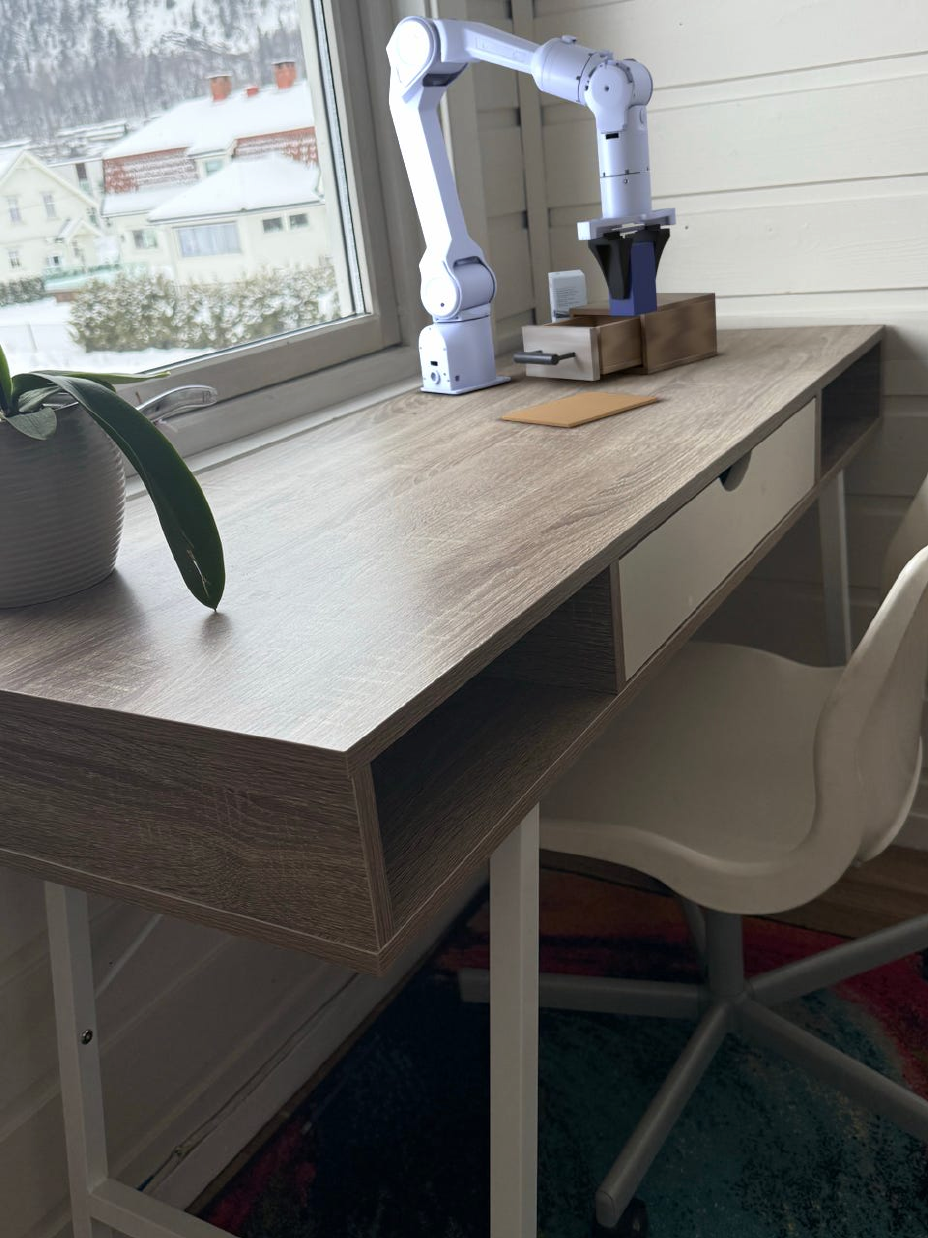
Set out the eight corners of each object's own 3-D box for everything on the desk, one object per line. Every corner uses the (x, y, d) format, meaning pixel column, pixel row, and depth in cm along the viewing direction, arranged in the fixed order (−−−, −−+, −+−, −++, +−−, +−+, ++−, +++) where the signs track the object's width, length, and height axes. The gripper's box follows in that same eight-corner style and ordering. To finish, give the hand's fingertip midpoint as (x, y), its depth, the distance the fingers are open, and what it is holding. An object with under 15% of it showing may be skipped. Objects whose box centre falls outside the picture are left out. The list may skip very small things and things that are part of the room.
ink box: (592, 358, 162) (585, 272, 158) (557, 362, 162) (550, 277, 158) (587, 350, 170) (581, 268, 166) (554, 354, 170) (547, 272, 166)
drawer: (568, 387, 138) (564, 334, 136) (502, 382, 148) (496, 332, 145) (662, 362, 148) (659, 312, 145) (593, 358, 157) (590, 311, 155)
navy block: (634, 316, 135) (630, 245, 132) (610, 315, 138) (605, 246, 135) (657, 310, 137) (653, 240, 134) (632, 310, 140) (628, 241, 137)
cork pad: (569, 427, 122) (568, 423, 121) (501, 419, 130) (501, 415, 130) (658, 400, 129) (658, 397, 129) (589, 394, 138) (589, 391, 137)
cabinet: (648, 374, 146) (644, 309, 143) (573, 369, 156) (568, 308, 153) (717, 354, 153) (715, 292, 150) (642, 351, 163) (638, 292, 160)
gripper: (605, 177, 125) (614, 305, 130) (693, 165, 133) (698, 286, 138) (560, 182, 130) (571, 305, 135) (647, 170, 138) (654, 287, 143)
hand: (632, 296), depth 137 cm, fingers closed on navy block, 4 cm apart
